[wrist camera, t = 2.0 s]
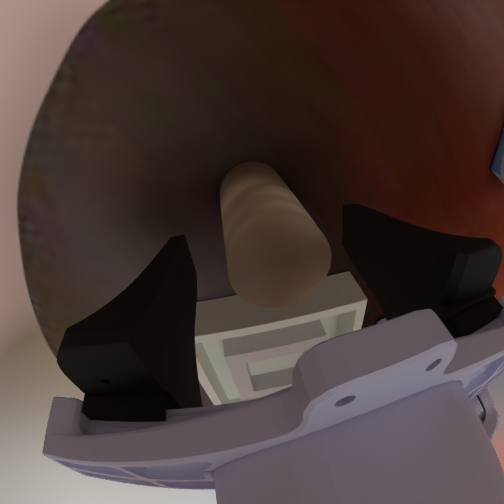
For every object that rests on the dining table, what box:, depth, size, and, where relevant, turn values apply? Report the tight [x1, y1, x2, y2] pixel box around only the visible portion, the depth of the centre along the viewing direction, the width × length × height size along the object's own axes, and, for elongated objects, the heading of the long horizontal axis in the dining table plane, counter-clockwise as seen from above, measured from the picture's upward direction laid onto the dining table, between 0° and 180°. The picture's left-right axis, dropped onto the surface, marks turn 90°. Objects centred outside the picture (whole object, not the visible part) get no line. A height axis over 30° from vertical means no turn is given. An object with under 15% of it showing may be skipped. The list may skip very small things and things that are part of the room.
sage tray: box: [195, 271, 367, 405], centre depth 25 cm, size 14×17×4 cm
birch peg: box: [219, 162, 331, 307], centre depth 14 cm, size 4×4×8 cm
